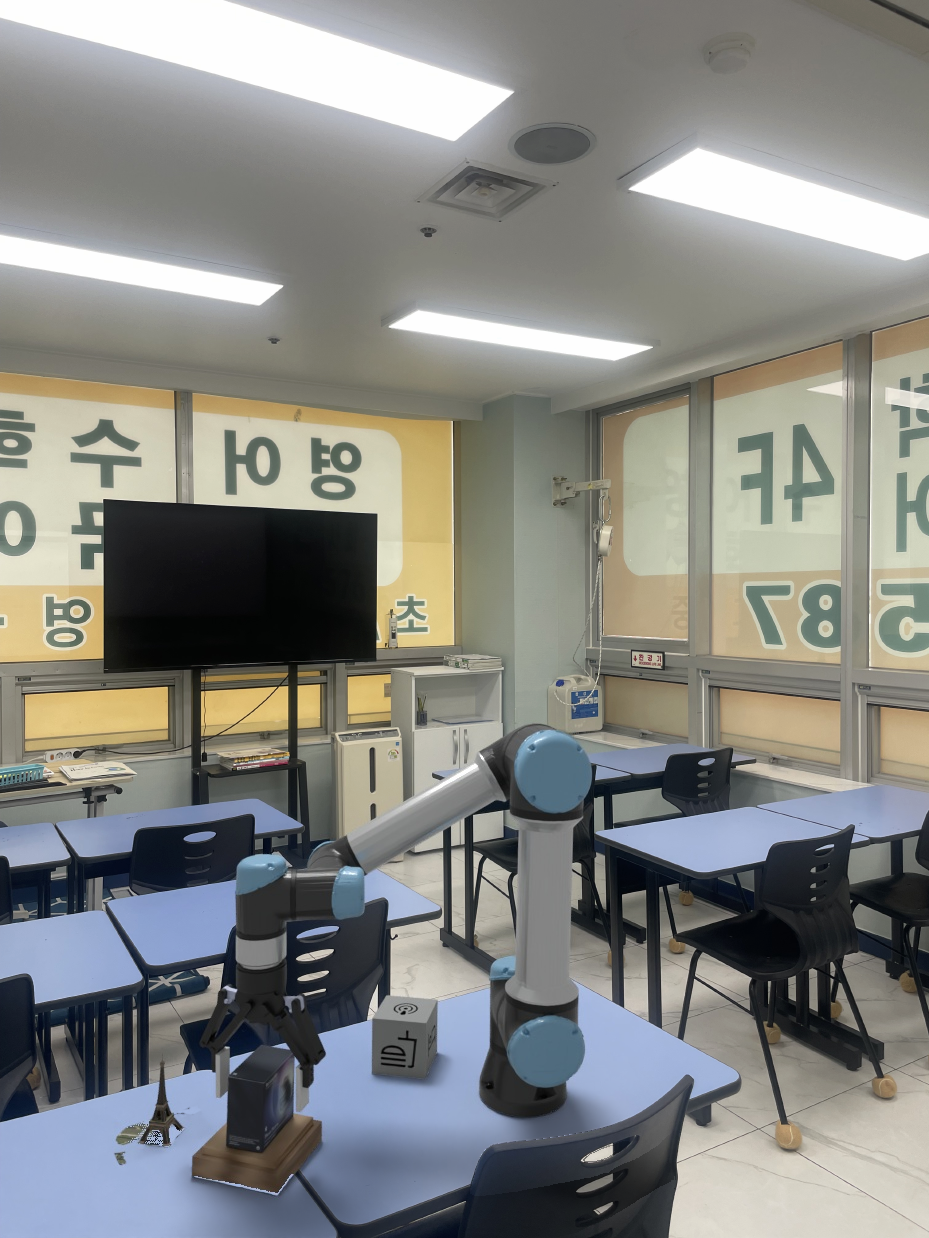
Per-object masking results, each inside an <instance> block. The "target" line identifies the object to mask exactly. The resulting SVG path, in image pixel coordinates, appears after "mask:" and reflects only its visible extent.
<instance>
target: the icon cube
mask: <svg viewBox="0 0 929 1238" xmlns="http://www.w3.org/2000/svg"><path fill="white" fill-rule="evenodd" d="M438 1003H439V1000H438V999H433V998H424V997H423V998H422V997H413V996H411V997H410V996H401V995H399V996H398V995H389V994H388V995H387V994H386V996H385V997H384V999H383V1000H382V1002H381V1003H380V1005H379V1007H378V1008H377V1010H376V1011H375V1013H374V1014H373V1016H372V1019H371V1074H373V1075H381V1076H389V1077H390V1076H391V1077H400V1078H401V1077H402V1078H409V1079H421V1080H427V1077H428V1074H429V1073H428V1072H430V1070H431V1068H432V1065H433V1063H434V1061H433V1060H435V1058H436V1056H437V1054H436V1052H437V1053H438ZM435 1055H436V1056H435ZM432 1062H433V1063H432ZM430 1067H431V1068H430Z"/></svg>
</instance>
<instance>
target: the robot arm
mask: <svg viewBox="0 0 929 1238" xmlns="http://www.w3.org/2000/svg"><path fill="white" fill-rule="evenodd" d="M592 780H593V769H592V764H591V761H590V758H589V756H588V754H587V752H586V751H585V749H584V747H582V745H581V744H580V743H579V742H578V741H577V740H576V739H575V738H573V737H572V736H571V735H570V734H568V733H565V732H564V731H561V730H557V729H556V728H554V727H552V726H551V725H548V724H544V723H530V724H529V723H528V724H524V725H522V726H520V727H519V726H518V727H517V728H514V729H513V730H512V731H510V732H508V733H507V734H505V735H504V736H502V737H500V738H498V739H497V740H495V741H494V742H492V743H491V744H490V745H487V746H486V747H484V748H483V749H481V750H479V751H478V752H476V755H475V758H474V760H473V761H472V762H470V763H469V764H467V765H465V766H463V767H462V768H459V769H458V770H457V771H454V772H453V773H451V774H449V775H448V776H446V777H444V778H442V779H441V780H439V781H437V782H436V783H434V784H432V785H430V786H428V787H427V788H425V789H423V790H421V791H420V792H418V793H416V794H414V795H413V796H411V797H409V798H408V799H406V800H405V801H403V802H401V803H399V804H397V805H395V806H393V807H392V808H390V809H388V810H386V811H385V812H384V813H381V814H380V815H378V816H377V817H375V818H373V819H371V820H369V821H367V822H365V823H364V824H362V825H360V826H359V827H357V828H355V829H354V830H352V831H350V832H348V833H347V834H345V835H343V836H342V837H340V838H338V839H337V840H334V841H333V840H331V841H324V842H322V843H321V844H319V845H318V846H316V847H315V848H314V849H313V851H312V852H311V854H310V855H309V858H308V860H307V864H306V868H304V869H303V868H301V869H299V868H296V869H293V868H288V865H287V860H286V858H285V857H283V856H281V855H278V854H270V853H269V854H267V853H266V854H265V853H264V854H256V855H250V856H247V857H245V858H243V859H241V860H240V862H239V863H238V864H237V866H236V879H235V882H236V883H235V891H234V894H235V895H234V896H235V897H234V898H235V960H236V962H237V964H236V965H235V986H236V988H234V985H232V984H231V983H228V984H226V985H225V986H224V987H223V988H221V989H220V990H219V991H218V992H217V998H216V999H217V1001H216V1002H217V1003H216V1006H215V1007H214V1010H213V1012H212V1013H211V1016H210V1019H209V1021H208V1023H207V1025H206V1027H205V1028H204V1031H203V1033H202V1035H201V1038H200V1041H199V1047H201V1048H206V1049H208V1050H209V1052H210V1055H211V1061H210V1062H211V1066H210V1067H211V1073H214V1074H215V1098H217V1099H221V1098H222V1097H223V1096H224V1095H225V1094H227V1093H228V1076H229V1075H230V1074H231V1070H230V1069H231V1068H230V1067H231V1064H230V1063H231V1062H230V1061H231V1059H230V1057H231V1056H230V1055H231V1054H230V1053H231V1052H230V1051H231V1050H230V1049H231V1048H230V1046H225V1045H226V1044H228V1041H229V1040H230V1039H231V1038H232V1036H233V1035H234V1034H235V1033H236V1032H237V1031H238V1029H239V1028H240V1027H241V1026H242V1024H243V1023H244V1022H245V1021H246V1020H247V1021H248V1022H249V1024H260V1025H262V1026H269V1025H270V1026H271V1028H272V1029H273V1031H275V1032H277V1033H278V1034H279V1036H280V1038H282V1040H283V1042H285V1044H286V1046H287V1047H288V1048H289V1050H291V1052H292V1053H293V1055H294V1056H295V1059H296V1060H297V1062H298V1065H297V1066H295V1112H297V1113H301V1112H303V1110H304V1109H305V1108H306V1107H307V1105H309V1103H310V1098H309V1097H310V1087H311V1086H312V1085H313V1083H314V1079H315V1074H314V1073H315V1072H314V1071H315V1067H314V1066H317V1065H318V1064H320V1063H321V1061H322V1060H324V1058H325V1057H326V1055H327V1053H326V1050H325V1048H324V1045H323V1043H322V1041H321V1038H320V1036H319V1033H318V1031H317V1029H316V1026H315V1024H314V1022H313V1020H312V1017H311V1015H310V1012H309V1010H308V1007H307V1006H308V1004H307V997H306V995H305V993H299V994H298V995H297V996H295V995H293V996H291V995H288V994H287V990H286V987H287V979H288V977H287V974H288V973H287V972H288V968H287V966H288V965H287V963H288V962H287V959H286V957H287V921H289V922H291V921H313V920H314V921H316V920H339V921H341V920H345V919H350V918H358V917H360V916H362V915H363V914H364V912H365V905H366V904H365V902H366V900H365V897H366V895H365V894H366V892H365V889H366V888H365V877H366V876H367V875H369V874H370V873H372V872H373V871H375V870H377V869H379V868H381V867H382V866H384V865H386V864H388V863H389V862H392V861H394V860H395V859H396V858H398V857H399V856H401V855H403V854H405V853H406V852H408V851H410V850H412V849H413V848H415V847H417V846H419V845H420V844H422V843H424V842H426V841H427V840H429V839H431V838H433V837H434V836H437V835H438V834H440V833H441V832H443V831H445V830H446V829H448V828H450V827H452V826H453V825H455V824H457V823H458V822H460V821H462V820H464V819H465V818H467V817H469V816H471V815H473V814H474V813H476V812H478V811H479V810H481V809H483V808H484V807H486V806H488V805H490V804H491V803H493V802H494V801H501V802H503V803H505V802H507V801H509V815H510V817H511V818H512V819H513V820H514V821H515V822H516V823H517V825H518V844H517V845H518V847H517V879H516V881H517V884H516V888H517V889H516V923H515V925H516V926H515V928H516V929H515V955H509V956H504V957H500V958H498V959H496V960H495V961H493V963H492V964H491V966H490V972H489V973H490V974H489V975H490V976H489V977H488V981H489V1048H488V1051H487V1054H486V1057H485V1060H484V1063H483V1066H482V1069H481V1072H480V1075H479V1079H478V1080H479V1081H478V1082H479V1083H478V1086H479V1087H478V1095H479V1098H480V1099H481V1101H482V1102H483V1104H485V1105H486V1106H487V1107H489V1109H491V1110H493V1111H495V1112H497V1113H500V1114H503V1115H505V1116H511V1117H518V1118H536V1117H543V1116H546V1115H549V1114H552V1113H554V1112H556V1111H557V1109H558V1110H559V1109H561V1107H562V1106H564V1104H565V1102H566V1100H567V1082H569V1080H570V1078H572V1077H574V1075H576V1074H577V1072H578V1071H579V1069H580V1068H581V1066H582V1065H583V1062H584V1059H585V1054H586V1044H585V1040H584V1037H585V1036H584V1033H583V1031H582V1029H581V1028H580V1027H579V1000H580V999H579V995H580V994H579V987H578V986H577V984H576V983H575V982H574V981H573V980H572V979H571V978H570V970H571V969H570V963H571V961H570V960H571V958H570V957H571V926H572V925H571V923H572V921H571V920H572V918H571V917H572V915H571V914H572V892H573V889H572V886H573V879H572V878H573V848H574V847H573V845H574V844H573V842H574V828H575V826H576V825H577V824H578V823H580V822H581V821H582V820H583V819H584V801H585V800H584V799H585V798H586V797H587V795H588V793H589V790H590V788H591V785H592ZM234 1001H235V1003H236V1004H237V1005H238V1007H239V1010H238V1012H237V1013H236V1014H235V1015H234V1016H233V1018H232V1020H231V1021H230V1022H229V1023H228V1024H227V1026H225V1028H224V1029H223V1031H221V1033H220V1034H219V1035H218V1033H219V1030H220V1028H221V1026H222V1024H223V1021H225V1020H224V1019H225V1017H226V1015H227V1013H228V1010H229V1008H230V1006H231V1004H232V1002H234ZM286 1006H287V1007H288V1010H287V1009H286ZM291 1014H292V1015H291ZM291 1017H292V1018H293V1021H294V1022H293V1021H292V1019H291ZM278 1018H280V1019H278ZM217 1035H218V1036H217ZM555 1110H556V1111H555Z"/></svg>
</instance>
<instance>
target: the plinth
mask: <svg viewBox="0 0 929 1238" xmlns="http://www.w3.org/2000/svg"><path fill="white" fill-rule="evenodd" d="M226 1129H227V1122H225V1123H224V1124H223V1125H222V1126H221V1127H220V1128H219V1130H217V1132H215V1133H214V1134H213V1135H212V1136H211V1137H210V1138H209V1139H208V1140H207V1141H206V1142H205V1143H204V1144H203V1145H202V1146H201V1147H200V1148H199V1149H198V1150H197V1151H196V1152H195V1153H193V1154H192V1156H191V1157H192V1158H191V1177H192V1176H198V1177H202V1178H206V1179H212V1180H218V1181H225V1182H229V1183H235V1184H241V1185H244V1186H247V1187H251V1188H256V1189H257V1188H258V1189H260V1190H266V1191H268V1192H269V1191H270V1192H275V1193H278V1192H279V1190H280V1189H281V1188H282V1186H283V1185H284V1184H285V1182H286V1181H287V1179H288V1178H289V1176H290V1175H291V1174H294V1176H295V1174H297V1172H298V1171H299V1170H300V1168H301V1167H302V1166H303V1164H304V1163H305V1162H306V1161H307V1160H308V1158H309V1157H310V1156H311V1154H313V1152H314V1151H315V1149H316V1148H317V1147H318V1146H319V1144H320V1143H321V1142H322V1141H323V1140H322V1139H323V1135H322V1133H323V1122H322V1120H318V1119H314V1116H309V1115H306V1114H304V1115H303V1114H299V1113H294V1112H293V1117H292V1118H291V1119H290V1120H289V1121H288V1123H287V1124H286V1125H285V1126H284V1127H283V1129H282V1130H281V1131H280V1132H279V1133H278V1134H277V1136H276V1137H275V1138H274V1139H273V1140H272V1142H271V1143H270V1144H269V1145H268V1146H267V1148H266V1149H265V1150H264V1151H263V1152H262V1153H259V1152H253V1151H248V1150H243V1149H238V1148H233V1147H227V1146H226Z"/></svg>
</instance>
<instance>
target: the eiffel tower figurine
mask: <svg viewBox="0 0 929 1238" xmlns="http://www.w3.org/2000/svg"><path fill="white" fill-rule="evenodd" d="M163 1056H164V1055H163V1054H162V1055H161V1061H160V1062H159V1066H160V1068H159V1069H160V1072H159V1082H158V1092H157V1100H156V1103H155V1104H154V1106H155V1109H154V1112H153V1115H152V1117H151V1118H150V1119H149V1120H150V1121H149V1126H148V1124H147V1126H148V1127H147V1126H146V1124H143V1123H142V1124H141V1122H138V1123H135V1125H134V1124H132V1125H129V1126H127V1127H128V1128H127V1127H125V1128H124V1129H123V1130H122V1131H121V1132H120V1133H118V1134H117V1136H116V1138H115V1142H117V1144H118V1145H119V1146H125V1145H128V1144H131V1143H133V1142H132V1141H133V1140H136V1141H137V1139H134V1138H136V1137H141V1136H139V1135H143V1136H142V1137H141V1138H140V1139H138V1141H137V1143H138V1145H144V1144H145V1146H146V1145H147V1146H152V1145H159V1144H160V1143H159V1144H158V1143H157V1144H156V1143H155V1144H154V1143H150V1144H149V1143H148V1144H147V1142H148V1141H150V1140H147V1137H152V1135H153V1133H154V1132H155V1133H156V1132H157V1133H158V1134H159V1133H161V1134H162V1137H163V1140H162V1141H163V1143H162V1144H163V1145H162V1146H169V1145H170V1143H171V1142H170V1138H169V1128H170V1126H175V1127H176V1129H177V1130H179V1131H180V1130H181V1131H182V1129H183V1128H185V1127H184V1126H183V1125H182V1124H181V1123H180V1121H178V1120H177V1118H175V1114H174V1112H172V1111H171V1108H170V1106H169V1100H168V1099H167V1091H166V1078H165V1063H166V1062H165V1061H164V1059H163ZM139 1123H140V1124H141V1126H140V1124H139ZM136 1124H137V1125H136ZM138 1124H139V1126H138ZM142 1125H143V1126H142ZM144 1125H145V1126H144ZM130 1126H132V1127H130ZM133 1126H134V1127H133ZM143 1127H144V1128H143ZM145 1127H146V1128H145ZM142 1129H143V1130H142ZM144 1129H146V1131H145V1130H144ZM152 1130H159V1131H160V1132H158V1131H152ZM143 1131H144V1132H143ZM152 1132H153V1133H152ZM182 1132H183V1131H182ZM138 1133H139V1134H138ZM140 1133H144V1134H140ZM149 1133H151V1134H152V1135H151V1134H150V1135H151V1136H148V1135H149ZM155 1133H154V1134H155ZM157 1133H156V1134H157ZM156 1134H155V1135H153V1137H154V1136H155V1137H156V1136H157V1137H161V1136H158V1134H157V1135H156ZM159 1135H160V1134H159ZM157 1137H156V1138H157ZM132 1138H133V1139H132ZM156 1138H155V1141H156V1140H157V1139H158V1138H157V1139H156ZM148 1139H149V1138H148ZM150 1139H151V1138H150ZM131 1140H132V1141H131ZM128 1141H129V1142H128ZM130 1141H131V1143H130ZM146 1141H147V1142H146ZM151 1141H152V1140H151ZM151 1141H150V1142H151ZM153 1141H154V1140H153ZM153 1141H152V1142H153ZM155 1141H154V1142H155ZM158 1141H159V1140H158ZM160 1141H161V1140H160ZM160 1141H159V1142H160ZM162 1141H161V1142H162ZM145 1142H146V1143H145ZM139 1143H140V1144H139ZM170 1146H171V1145H170ZM170 1146H169V1147H170ZM123 1153H124V1154H125V1153H126V1151H121V1152H114V1153H113V1154H114V1156H115V1158H116V1160H117V1162H118V1163H119V1165H123V1164H127V1161H126V1159H124V1157H125V1155H124V1154H123Z"/></svg>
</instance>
